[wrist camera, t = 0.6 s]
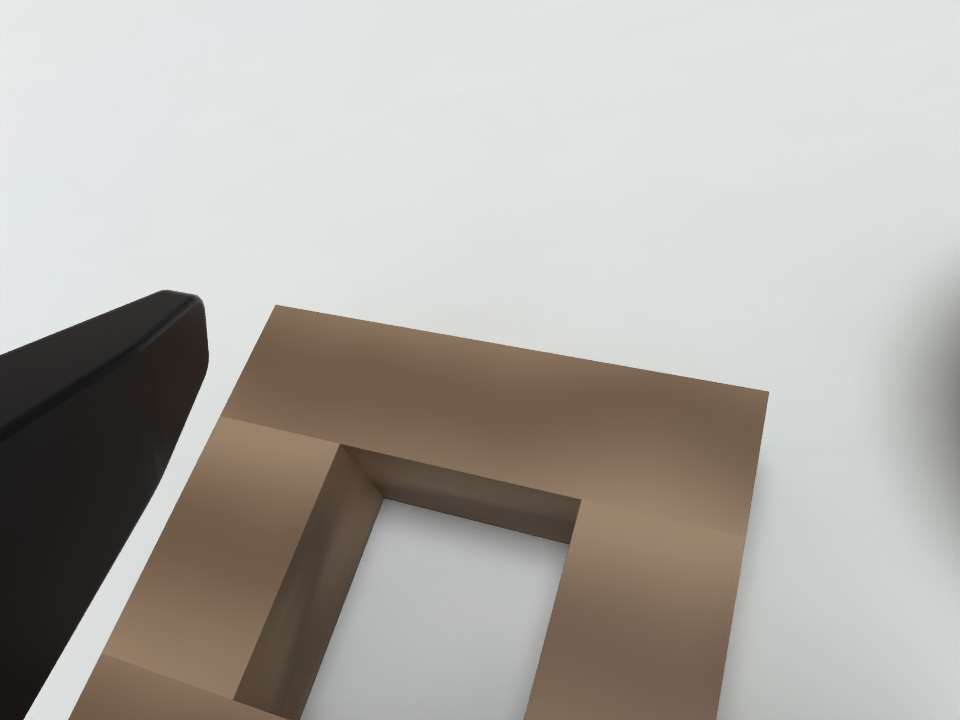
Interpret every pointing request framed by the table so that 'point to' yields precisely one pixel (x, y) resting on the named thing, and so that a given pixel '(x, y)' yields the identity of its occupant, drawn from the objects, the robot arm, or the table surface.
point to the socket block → (449, 489)
